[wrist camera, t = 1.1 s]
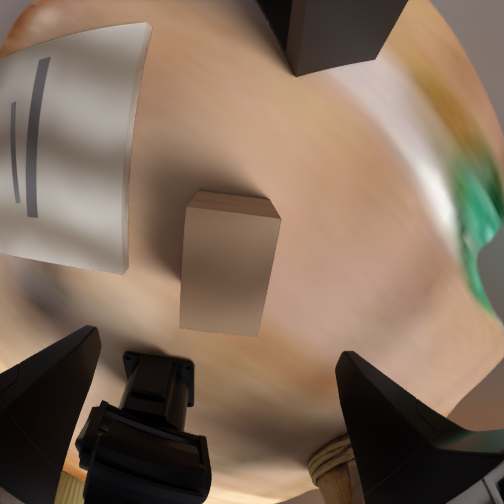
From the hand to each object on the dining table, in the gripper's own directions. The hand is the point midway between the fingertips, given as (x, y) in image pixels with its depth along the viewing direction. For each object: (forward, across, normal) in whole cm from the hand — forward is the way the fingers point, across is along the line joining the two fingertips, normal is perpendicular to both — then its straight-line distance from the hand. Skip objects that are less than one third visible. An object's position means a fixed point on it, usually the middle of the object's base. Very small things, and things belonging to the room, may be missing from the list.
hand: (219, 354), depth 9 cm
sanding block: (+10, 0, 0) cm, 11 cm away
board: (+10, +15, -6) cm, 19 cm away
